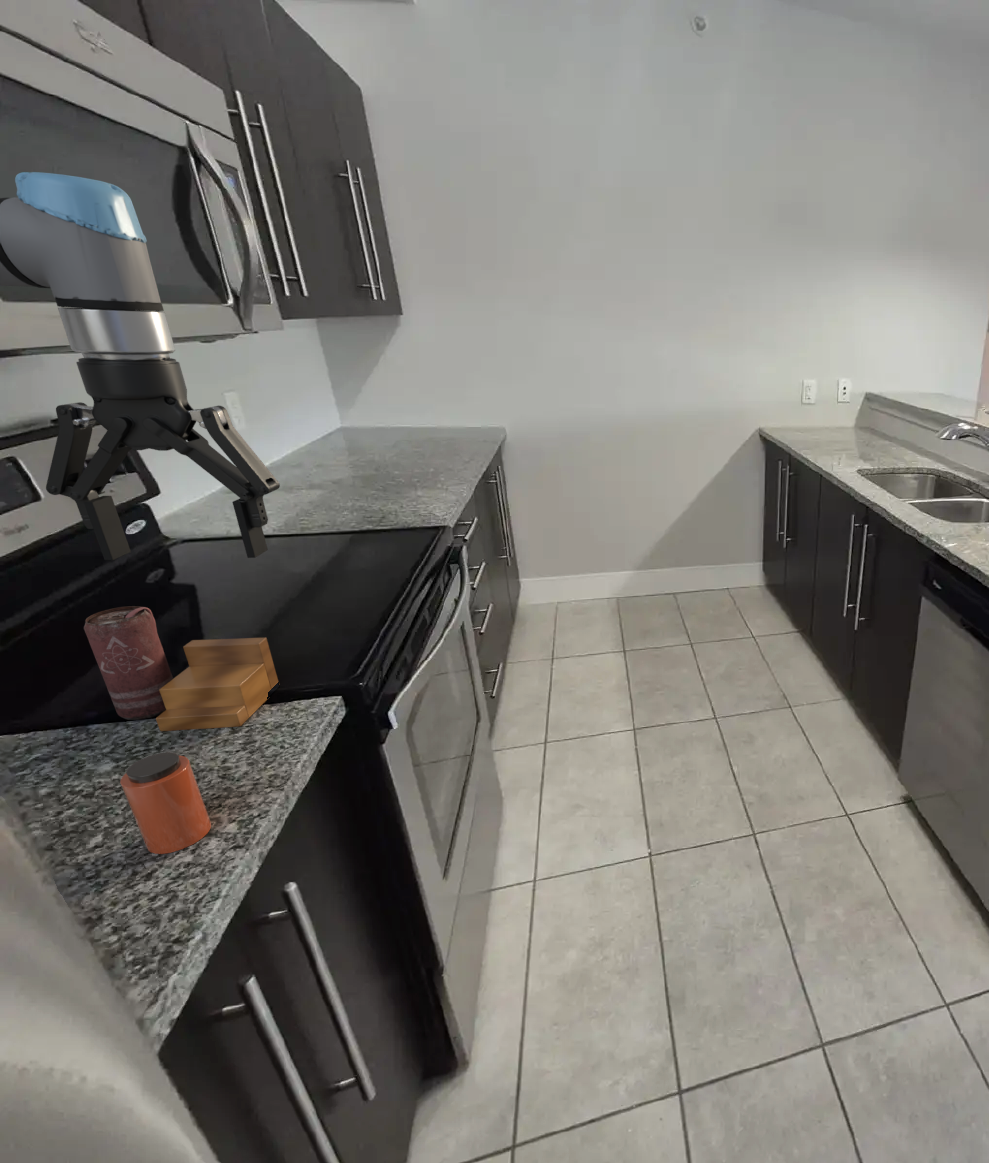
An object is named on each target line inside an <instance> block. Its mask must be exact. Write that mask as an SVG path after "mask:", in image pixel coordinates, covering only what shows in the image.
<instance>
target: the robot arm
mask: <svg viewBox="0 0 989 1163" xmlns="http://www.w3.org/2000/svg"><path fill="white" fill-rule="evenodd" d="M14 182H15V186H16V197H15V196H13V197H0V287H23V288H24V287H26V288H39V289H50V290H51V293H52V296H53V299H54V300H55V303H56V306H57V311H58V312H59V316H60V320H61V322H62V326H63V329H64V331H65V336H66V337H67V341H68V344H69V347H70V350H72V351H73V352H75V353H80V354H81V355H82V357H79V358H78V359H77V360H78V361H76V366H77V369H78V372H79V375H80V378H81V382H82V383H83V384H82V385H83V386H84V390H85V392H86V394H87V395H88V396H90V397H91V398H92V401H93V406H89V405H88V404H87V403H84V402H83V401H82V402H71V403H65V404H59V405H57V406H56V407H55V413H56V416H57V421H58V426H59V429H58V433H57V436H56V442H55V445H54V451H53V455H52V460H51V463H50V468H49V471H48V476H47V480H46V485H45V490H46V491H47V493H48V494H50V495H52V496H58V495H61V496H65V497H68V498H70V499H71V500H73V501H74V502H75V504H76V506H77V509H78V512H79V515H80V517H81V519H82V522H83V525H84V527H86V529H88V530H93V532H94V535H95V537H96V540H97V543H98V545H99V549H100V551H101V555H102V556H103V560H104V561H114V560H117V559H118V558H122V557H123V556H125V555H128V554H129V553H132V551H131V549H130V545H129V543H128V540H127V537H126V534H125V530H124V528H123V525H122V522H121V519H120V517H119V514H118V511H117V507H116V504H115V502H114V499H113V496H112V495H102V494H105V493H106V491H103V490H104V488H105V487H106V486H107V484H108V483H109V481H110V480H111V479H112V477H113V475H114V474H115V473H116V471H117V469H118V468H119V467H120V465H121V464H122V462H123V461H124V459H125V458H126V456H127V455H128V453H130V451H131V450H132V451H144V450H145V451H146V450H149V449H150V450H155V451H159V452H161V451H162V452H163V451H166V452H167V451H171V450H174V451H176V452H177V453H178V454H180V455H182V456H185V457H187V458H188V459H190V460H191V461H193V462H194V463H195V464H196V465H198V466H199V467H200V468H201V469H203V470H204V471H205V472H207V473H208V474H209V475H210V476H211V477H213V478H214V479H215V480H216V481H218V482H219V483H220V484H222V485H223V486H224V487H225V488H227V489H228V490H229V491H230V492H232V493H233V494H235V495H236V496H237V497H238V498H237V499H235V500H233V501H232V506H233V510H234V513H235V516H236V521H237V524H238V528H239V531H240V532H239V533H240V535H241V536H240V537H241V539H242V542H243V546H244V551H245V554H246V557H247V559H255V558H258V557H259V556H260V555H262V554H264V553H265V552H267V551H269V549H268V546H267V542H266V537H265V534H264V529H263V527H264V526H266V525H268V523H269V522H268V521H269V517H268V514H267V509H266V505H265V502H264V496H267V495H268V494H270V493H272V492H275V491H277V490H279V488H280V487H281V486H280V485H281V484H280V482H279V481H278V480H277V478H276V477H275V476H274V475H273V474H272V472H271V471H270V470H269V469H268V467H267V466H266V464H264V463H263V461H262V460H261V459H260V457H259V456H258V455H257V454H256V452H254V450H253V448H251V446H250V445H249V444H248V443H247V441H246V440H245V439H244V438H243V437H242V436H241V434H240V433H239V432H238V430H236V428H235V427H234V424H233V423H232V420H231V418H230V415H229V413H228V412H229V411H228V410H227V409H226V407H225V406H223V405H214V406H209V407H204V408H195V409H194V408H193V407H192V406H191V404H190V403H189V400H188V388H187V385H186V382H185V378H184V374H183V371H182V367H181V363H180V362H179V361H177V359H176V358H172V357H171V356H170V354H173V353H174V352H176V348H175V344H174V340H173V337H172V334H171V330H170V329H171V328H170V326H169V323H168V319H167V315H166V312H165V310H164V307H163V303H162V301H161V297H160V294H159V290H158V285H157V282H156V277H155V275H154V271H153V266H152V263H151V259H150V254H149V251H148V246H147V242H148V240H147V237H146V235H145V234H144V233H143V229H142V227H141V224H140V221H139V217H138V215H137V213H136V212H137V211H136V210H135V207H134V205H133V202H132V199H131V197H130V196H129V195H128V194H127V192H126V191H125V190H123V189H122V188H121V187H119V186H118V185H115V184H113V183H110V182H106V181H103V180H97V179H93V178H88V177H81V176H75V175H68V174H61V173H52V172H41V171H40V172H39V171H32V172H29V171H23V172H19V173H17V174H16V175H15V178H14ZM96 422H97V423H98V424H99V425H101V426H102V428H104V429H105V430H106V432H105V433H104V434H103V436H102V438H101V439H100V441H99V443H98V444H97V447H98V449H97V450H96V452H95V453H94V455H93V456H92V458H91V459H90V461H89V462H88V464H87V465H86V467H85V464H86V458H87V455H88V451H89V446H90V443H91V438H92V434H93V426H95V424H96ZM196 423H198V426H199V427H201V428H203V429H205V430H206V431H207V433H208V434H209V436H210V437H211V439H212V440H213V441H214V442H215V443H216V445H217V446H218V447H219V448H220V449H221V450H222V452H223V453H224V454H225V455H226V457H227V458H228V459H229V460H228V459H227V458H226V457H225V456H224V455H223V454H221V453H220V451H219V452H218V451H217V450H216V449H215V448H214V447H213V446H212V445H210V443H209V441H208V439H206V438H205V437H204V436H203V435H201V434H200V433H199V432H198V431H196V429H194V427H195V425H196ZM84 467H85V468H84ZM101 495H102V496H101Z"/></svg>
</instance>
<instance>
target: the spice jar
mask: <svg viewBox="0 0 989 1163" xmlns="http://www.w3.org/2000/svg"><path fill="white" fill-rule="evenodd" d="M119 783H120V786H121V788H122V791H123V793H124V795H125V796H124V797H125V798H126V800H127V803H128V805H129V808H130V810H131V813H132V816H133V818H134V820H135V822H136V825H137V827H138V830H139V833H140V835H141V837H142V840H143V842H144V845H145V847H146V850H147V851H148V852H150V853H151V854H155V855H164V854H171V853H174V852H178V851H181V850H184V849H187V848H189V847H191V846H192V845H194V844H196V843H198V842H199V841H201V840H202V839H203V838H204V837H206V836H207V835H208V833H210V830H211V828H212V822H211V819H210V816H209V814H208V810H207V807H206V805H205V801H204V800H203V799H204V798H203V796H202V793H201V791H200V787H199V785H198V782H197V779H196V776H195V774H194V770H193V767H192V764H191V762H190V760H189V758H188V757H187V756H184V755H178V754H177V753H176V752H159V753H155V754H150V755H149V756H145V757H143V758H141V759H139V760H137V761H135V762H134V763H132V764H130V765H129V767H127V769H126V772H125V773H124V774H123V775H122V777H121V778H120V781H119Z"/></svg>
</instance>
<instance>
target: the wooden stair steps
mask: <svg viewBox="0 0 989 1163" xmlns="http://www.w3.org/2000/svg"><path fill="white" fill-rule="evenodd" d="M182 648H183V651H184V655H185V658H186V660H187V663H188V667H187V668H186V669H184V670H183V671H181V672H180V673H179V674H177V675H176V676H175V677H173V679H172V680H171V681H170V682H168V683H167V684H166V685H165V686H163V687H162V688H161V689H159V690H160V693H161V696H162V699H163V702H164V705H165V707H166V710H165V711H164V712H163V713H162V714H160V715H157V716H156V718H155V720H156V724H157V727H158V728H159V731H160V732H171V731H189V730H190V731H191V730H202V729H203V730H205V729H218V728H219V729H221V728H222V729H223V728H236V727H237V728H239V727H242V726H243V725H244V724H245V723H246V721H248V720H249V718H250V717H252V715H254V713H255V712H256V711H258V710H259V709H260V707H261V706H262V705H263V704H265V703H266V702H267V700H268V699H267V697H268V692H269V691H270V690H271V689H272V688H273V687H274V686H275V685H276V684H277V683H278V682H279V679H278V675H277V672H276V668H275V664H274V661H273V656H272V653H271V649H270V645H269V642H268V639H267V637H246V638H245V637H242V638H216V639H192V640H190V641H189V642H188V643H186V644H185V645H183V646H182Z"/></svg>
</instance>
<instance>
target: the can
mask: <svg viewBox="0 0 989 1163" xmlns="http://www.w3.org/2000/svg"><path fill="white" fill-rule="evenodd" d="M83 630H84V633H85V635H86V637H87V640H88V643H89V646H90V648H91V650H92V653H93V656H94V658H95V662H96V663H97V665H98V668H99V671H100V674H101V676H102V678H103V681H104V684H105V686H106V688H107V692H108V694H109V696H110V699H111V701H112V704H113V706H114V709H115V711H116V714H117V716H119V717H120V718H122V719H125V720H128V721H137V720H145V719H146V720H147V719H150V718H154V717H158V716H159V715H160V714H162V713H163V712H164V711H165V710H166V707H165V705H164V702H163V699H162V696H161V693H160V690H159V689H161V688H162V687H163V686H165V685H166V684H167V683H168V682H170V681H171V680H172V679H174V677H173V674H172V672H171V668H170V665H169V662H168V660H167V657H166V654H165V652H164V648H163V645H162V642H161V639H160V638H159V634H158V629H157V623H156V619H155V617H154V614H153V612H152V610H151V609H150V608H148V607H146V606H139V605H137V606H135V605H132V606H130V605H129V606H119V607H114V608H109V609H105V610H101V611H98V612H95V613H93V614H91V615H90V616H88V617H86V619H85V620H84V626H83Z"/></svg>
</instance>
